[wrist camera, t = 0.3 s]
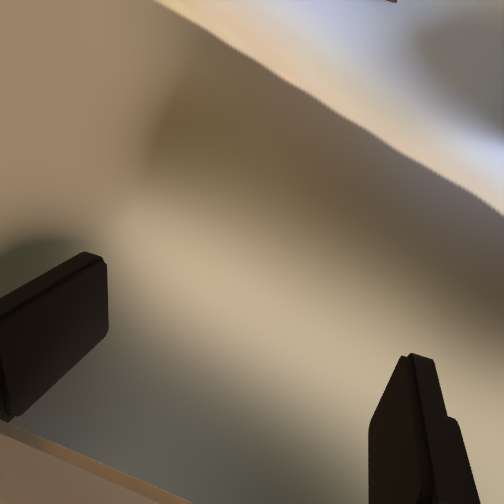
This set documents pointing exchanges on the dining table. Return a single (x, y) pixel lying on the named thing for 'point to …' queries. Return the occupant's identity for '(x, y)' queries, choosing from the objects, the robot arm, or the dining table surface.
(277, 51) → the dining table surface
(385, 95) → the dining table surface
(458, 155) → the dining table surface
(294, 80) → the dining table surface
